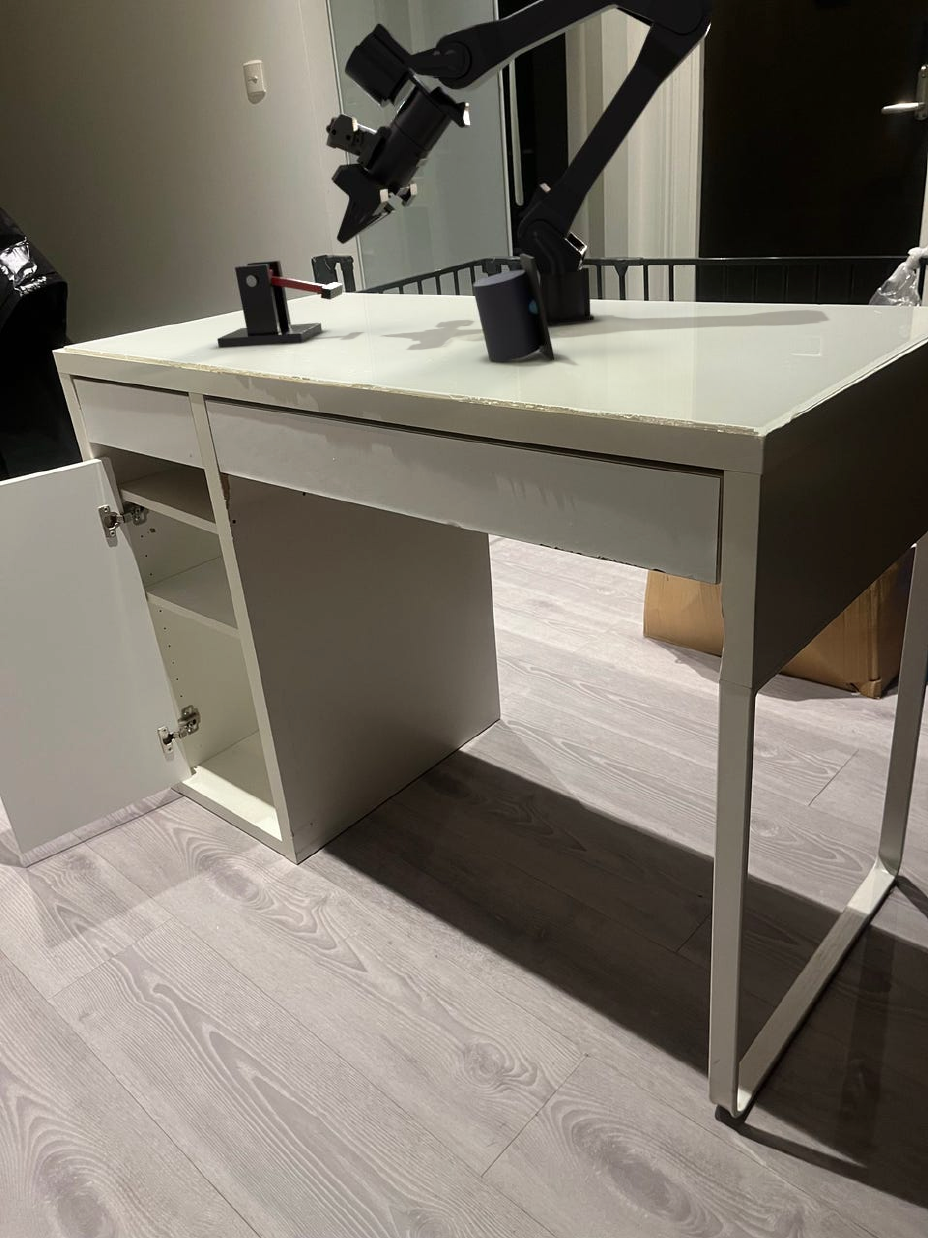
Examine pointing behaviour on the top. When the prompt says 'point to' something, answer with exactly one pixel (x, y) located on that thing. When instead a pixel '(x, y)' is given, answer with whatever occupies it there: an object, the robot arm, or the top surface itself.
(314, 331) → the lever switch
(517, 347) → the speaker
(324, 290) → the paintbrush
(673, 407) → the top surface
